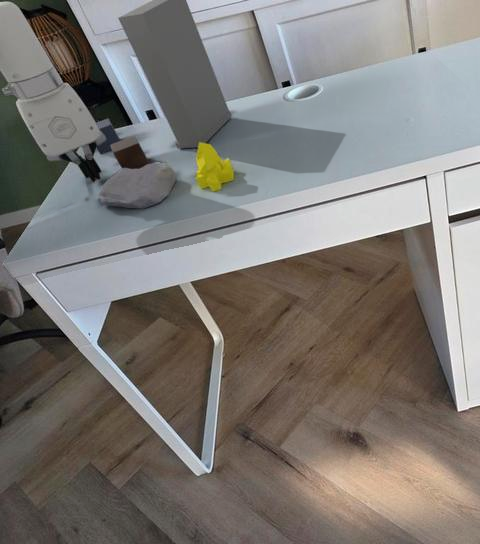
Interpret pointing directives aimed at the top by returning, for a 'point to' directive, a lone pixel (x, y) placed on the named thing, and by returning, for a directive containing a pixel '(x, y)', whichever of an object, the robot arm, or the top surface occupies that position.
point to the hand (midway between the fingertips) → (95, 177)
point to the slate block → (107, 135)
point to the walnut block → (129, 153)
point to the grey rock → (138, 186)
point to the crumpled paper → (212, 168)
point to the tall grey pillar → (177, 69)
